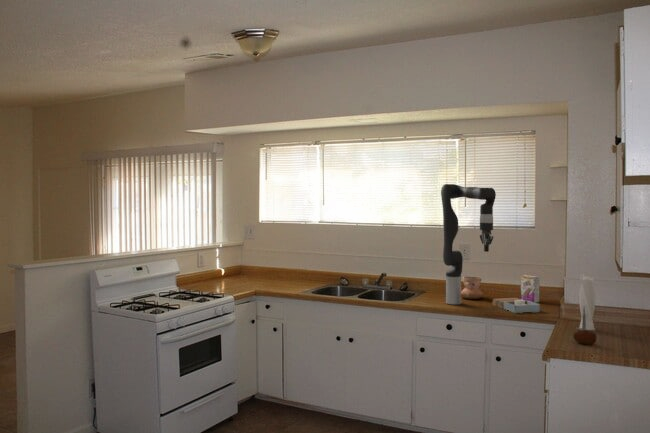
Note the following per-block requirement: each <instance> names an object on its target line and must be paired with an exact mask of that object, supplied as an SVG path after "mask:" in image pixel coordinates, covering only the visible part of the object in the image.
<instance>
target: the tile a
mask: <svg viewBox="0 0 650 433" xmlns="http://www.w3.org/2000/svg"><path fill="white" fill-rule="evenodd" d="M518 304H525V300H514V305H518Z"/></svg>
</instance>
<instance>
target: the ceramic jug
mask: <svg viewBox="0 0 650 433" xmlns="http://www.w3.org/2000/svg"><path fill="white" fill-rule="evenodd" d="M462 282H463V284H464V288H463V289H461V298H464V299H467V300H478V299H481V298H482V297H483V296H484V293H483V291H482V290H480V289H479V287H480V285H481V282H482V277H481V276H477V275H476V276H475V275H474V276H472V275H469V276H468V275H465V276H464V275H463V276H462Z"/></svg>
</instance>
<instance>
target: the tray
mask: <svg viewBox="0 0 650 433" xmlns="http://www.w3.org/2000/svg"><path fill="white" fill-rule="evenodd" d="M505 309H506V310H505ZM503 310H505V311H507V310H509V311H508V312H510V311H511V313H513V312H514V313H513V314H524V313H523V312H532V313H541V304H540V303H534V302H531V301H527V305H513V304H510V303H507V302H504V309H503Z"/></svg>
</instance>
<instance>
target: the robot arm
mask: <svg viewBox="0 0 650 433" xmlns="http://www.w3.org/2000/svg"><path fill="white" fill-rule="evenodd" d="M496 195H497V193H496V191H495V189H494V188H493V187H477V186H461V185H459V184H456V183H445V184H442V186H441V189H440V196H441V205H442V217H443V218H442V219H443V220H442V221H443V224H442V225H443V226H442V227H443V249H442V250H443V252H442V253H443V254H442V259H443V263H444V264H445V266H447V267H448V266H451V268H450V269H449V270H447V271H446V272H445V293H446V294H445V303H446V304H449V305H461V304H462V296H461V291H462V273H463V260H464V259H463V254H462V252H461V251H460V250H453V245H454V244H453V243H454V240H455V239H456V236H457V235H458V232H459V218H458V216H457V214H456V212H455V211H454V209H453V206H452V200H455V199H458V198H465V199H472V200H481V201H483V200H484V201H485V202H484V203H482V204H480V208H479V210H480V211H479V212H480V213H479V214H480V215H479V230H480V231H481V234H480V235H479V238H480V241H481V244H482V245H483V251H484V252H485V253H488V252H490V248H489V247H490V245H492V243H493V241H494V235H492V231H493V230H494V215H493V214H494V213H493V212H494V210H493V209H494V203H495V200H496V197H497V196H496Z"/></svg>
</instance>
